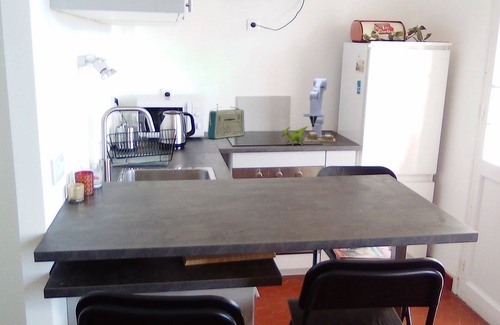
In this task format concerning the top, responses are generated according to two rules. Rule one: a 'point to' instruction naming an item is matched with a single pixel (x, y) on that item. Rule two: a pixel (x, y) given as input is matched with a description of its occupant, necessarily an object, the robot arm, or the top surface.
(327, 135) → the grey plug
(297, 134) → the toy
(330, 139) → the socket panel
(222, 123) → the radio
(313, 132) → the plug red
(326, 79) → the robot arm
